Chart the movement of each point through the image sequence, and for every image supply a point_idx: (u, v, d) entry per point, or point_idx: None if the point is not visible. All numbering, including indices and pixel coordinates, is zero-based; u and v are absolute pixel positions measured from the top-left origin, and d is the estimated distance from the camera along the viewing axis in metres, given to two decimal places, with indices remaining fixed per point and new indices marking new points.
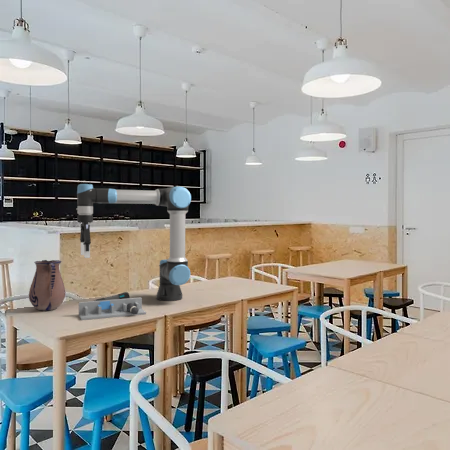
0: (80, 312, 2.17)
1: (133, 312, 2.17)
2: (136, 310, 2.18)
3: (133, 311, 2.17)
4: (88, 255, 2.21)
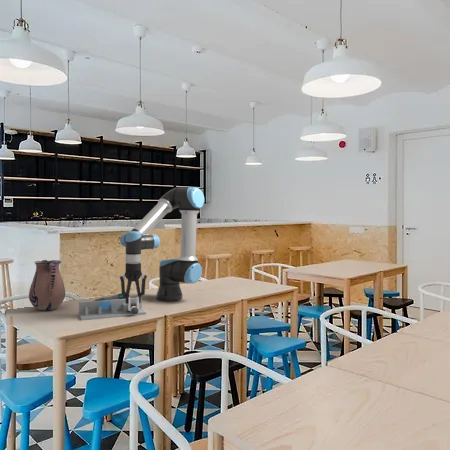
0: (80, 312, 2.17)
1: (133, 312, 2.17)
2: (136, 310, 2.18)
3: (133, 311, 2.17)
4: (128, 308, 2.19)
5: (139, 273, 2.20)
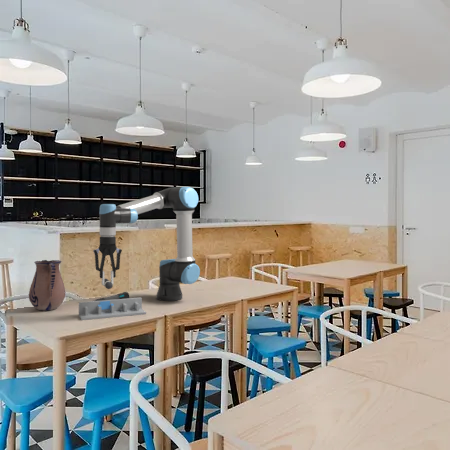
0: (80, 312, 2.17)
1: (107, 286, 2.12)
2: (110, 285, 2.12)
3: (107, 285, 2.12)
4: (102, 282, 2.13)
5: (114, 247, 2.15)
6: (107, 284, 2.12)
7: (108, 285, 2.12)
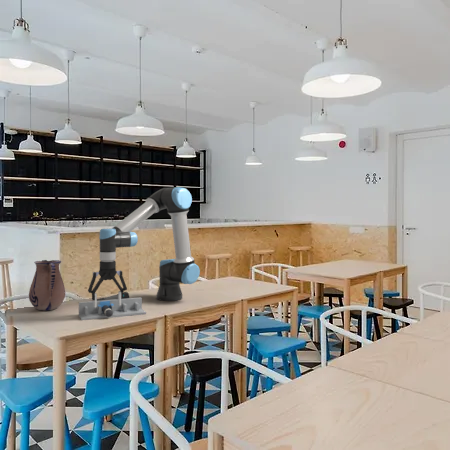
0: (80, 312, 2.17)
1: (107, 314, 2.12)
2: (110, 312, 2.13)
3: (107, 313, 2.12)
4: (94, 304, 2.12)
5: (113, 272, 2.15)
6: (107, 312, 2.12)
7: (108, 313, 2.12)
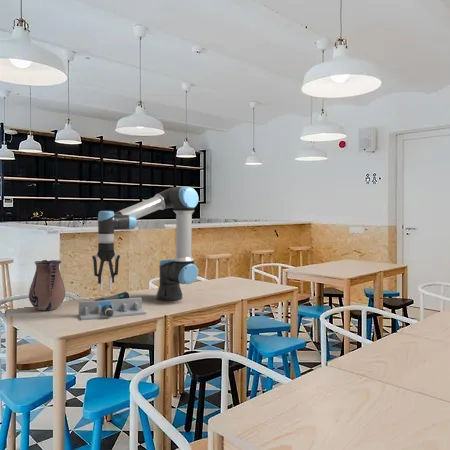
0: (80, 312, 2.17)
1: (107, 314, 2.12)
2: (111, 313, 2.13)
3: (108, 313, 2.12)
4: (100, 288, 2.17)
5: (112, 253, 2.19)
6: (108, 312, 2.12)
7: (109, 313, 2.12)
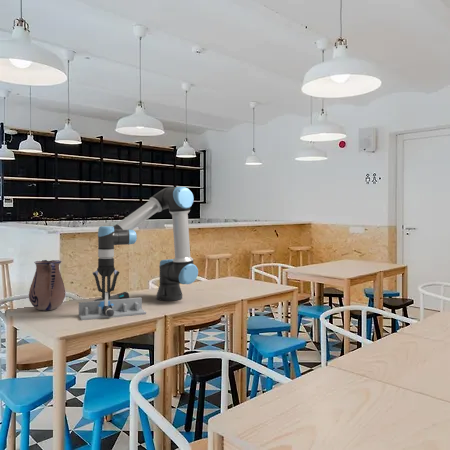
0: (80, 312, 2.17)
1: (108, 314, 2.12)
2: (111, 313, 2.13)
3: (108, 313, 2.12)
4: (104, 303, 2.19)
5: (112, 268, 2.19)
6: (109, 311, 2.12)
7: (109, 313, 2.12)
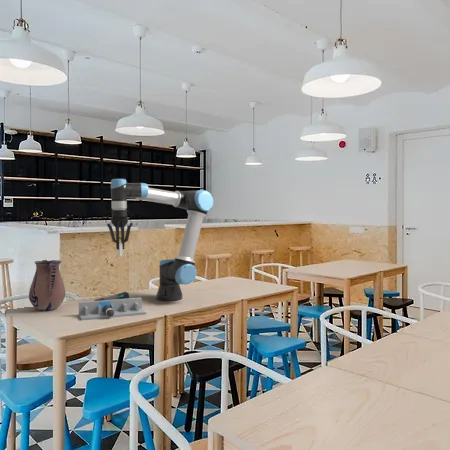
0: (80, 312, 2.17)
1: (108, 314, 2.12)
2: (112, 313, 2.13)
3: (108, 313, 2.12)
4: (119, 253, 2.26)
5: (125, 219, 2.26)
6: (109, 311, 2.12)
7: (109, 313, 2.13)
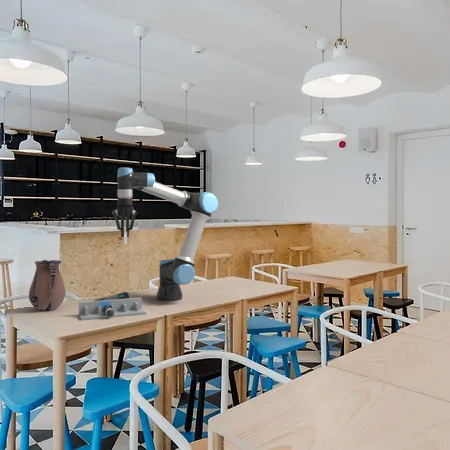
0: (80, 312, 2.17)
1: (108, 314, 2.12)
2: (112, 313, 2.13)
3: (108, 313, 2.12)
4: (123, 241, 2.30)
5: (131, 208, 2.30)
6: (109, 311, 2.12)
7: (109, 313, 2.13)
